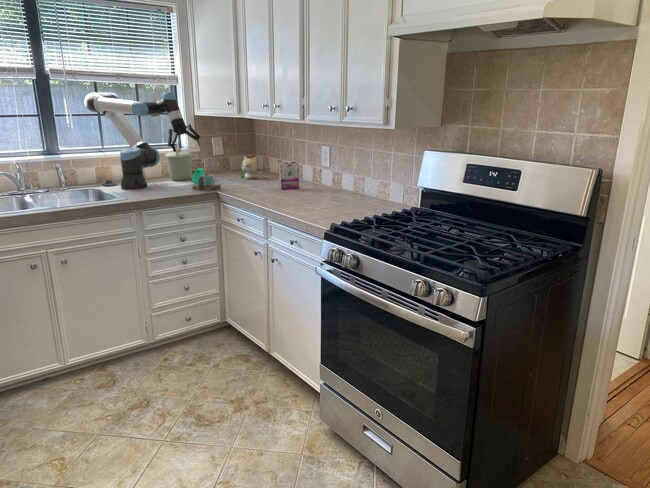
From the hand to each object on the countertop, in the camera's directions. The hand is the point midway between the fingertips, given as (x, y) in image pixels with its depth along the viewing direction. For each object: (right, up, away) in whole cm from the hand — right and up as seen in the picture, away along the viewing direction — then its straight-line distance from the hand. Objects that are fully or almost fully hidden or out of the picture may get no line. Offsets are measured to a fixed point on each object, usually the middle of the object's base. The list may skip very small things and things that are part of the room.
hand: (188, 153), depth 290 cm
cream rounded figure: (+30, -10, +38) cm, 49 cm away
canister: (-14, -11, +32) cm, 37 cm away
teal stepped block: (+10, -20, -2) cm, 22 cm away
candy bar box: (+60, -21, +4) cm, 63 cm away
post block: (+10, -21, +2) cm, 23 cm away
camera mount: (+4, -16, +18) cm, 25 cm away
